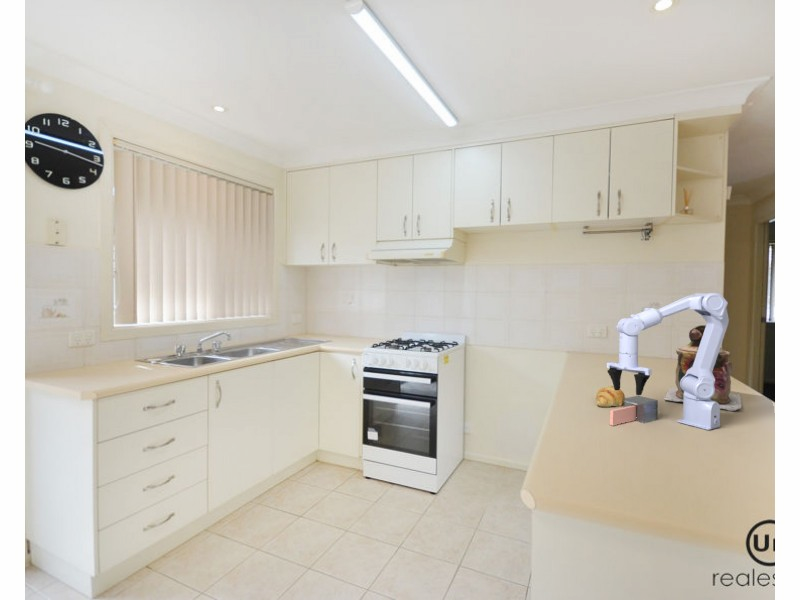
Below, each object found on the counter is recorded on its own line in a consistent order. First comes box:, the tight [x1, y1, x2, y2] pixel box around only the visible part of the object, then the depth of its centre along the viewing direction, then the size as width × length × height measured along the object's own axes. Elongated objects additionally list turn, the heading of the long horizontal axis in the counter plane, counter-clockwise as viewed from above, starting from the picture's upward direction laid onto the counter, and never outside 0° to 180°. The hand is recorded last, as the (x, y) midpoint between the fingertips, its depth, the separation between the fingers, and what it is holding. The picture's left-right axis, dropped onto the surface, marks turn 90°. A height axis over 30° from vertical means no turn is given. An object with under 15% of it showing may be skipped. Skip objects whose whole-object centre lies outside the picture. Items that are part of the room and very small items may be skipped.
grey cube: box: [624, 395, 659, 424], centre depth 140 cm, size 7×8×7 cm
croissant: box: [595, 385, 626, 408], centre depth 160 cm, size 21×10×8 cm, turn 132°
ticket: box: [609, 405, 637, 426], centre depth 135 cm, size 1×13×5 cm, turn 119°
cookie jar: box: [663, 324, 743, 412], centre depth 164 cm, size 25×25×32 cm
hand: (627, 392), depth 139 cm, fingers open, 7 cm apart
